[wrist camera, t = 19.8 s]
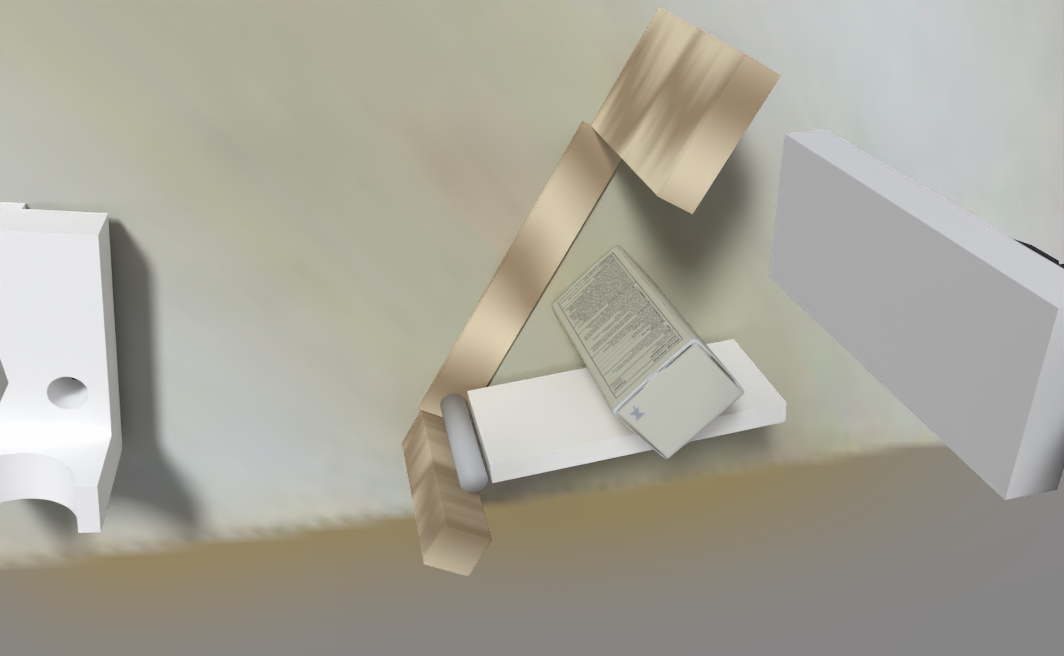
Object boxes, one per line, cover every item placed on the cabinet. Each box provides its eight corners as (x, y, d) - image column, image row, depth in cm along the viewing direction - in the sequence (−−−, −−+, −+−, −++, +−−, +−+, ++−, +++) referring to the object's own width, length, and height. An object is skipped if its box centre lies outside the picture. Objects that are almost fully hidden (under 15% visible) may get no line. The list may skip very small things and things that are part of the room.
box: (595, 350, 54) (662, 467, 44) (547, 304, 52) (606, 416, 42) (666, 288, 53) (750, 394, 43) (620, 238, 51) (697, 338, 41)
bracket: (125, 437, 50) (100, 532, 44) (-26, 439, 48) (-75, 537, 42) (111, 205, 44) (80, 274, 38) (-61, 196, 42) (-125, 267, 36)
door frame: (443, 456, 55) (471, 577, 46) (399, 442, 54) (420, 563, 45) (696, 30, 46) (790, 81, 38) (650, 1, 45) (736, 48, 36)
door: (443, 428, 53) (464, 509, 47) (438, 395, 52) (458, 472, 46) (732, 371, 56) (786, 440, 50) (733, 337, 55) (789, 404, 49)
